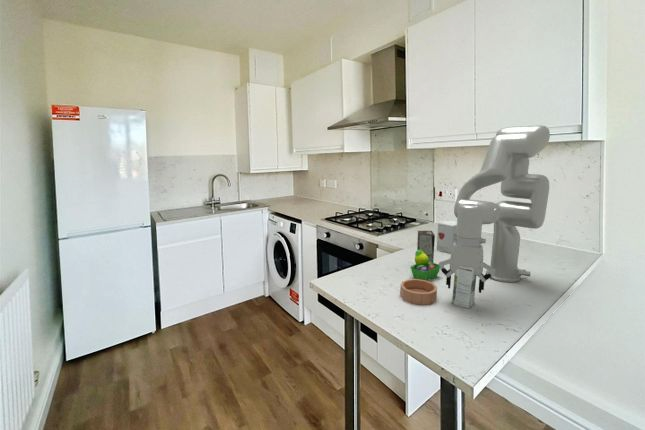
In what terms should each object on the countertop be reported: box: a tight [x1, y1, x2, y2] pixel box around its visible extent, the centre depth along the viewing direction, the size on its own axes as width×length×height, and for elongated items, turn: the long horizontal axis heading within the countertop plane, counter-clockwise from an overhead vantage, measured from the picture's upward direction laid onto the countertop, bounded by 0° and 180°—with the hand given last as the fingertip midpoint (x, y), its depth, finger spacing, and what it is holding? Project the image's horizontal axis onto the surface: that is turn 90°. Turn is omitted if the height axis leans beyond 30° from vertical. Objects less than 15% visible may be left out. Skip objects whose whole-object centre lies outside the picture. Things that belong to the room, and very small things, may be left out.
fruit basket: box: [410, 249, 441, 281], centre depth 131 cm, size 11×9×11 cm
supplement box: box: [436, 219, 457, 255], centre depth 165 cm, size 9×9×15 cm
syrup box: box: [451, 266, 477, 309], centre depth 108 cm, size 6×6×14 cm
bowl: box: [399, 278, 438, 306], centre depth 115 cm, size 12×12×4 cm
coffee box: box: [416, 230, 436, 263], centre depth 142 cm, size 9×6×16 cm
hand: (464, 289), depth 108 cm, fingers open, 9 cm apart
